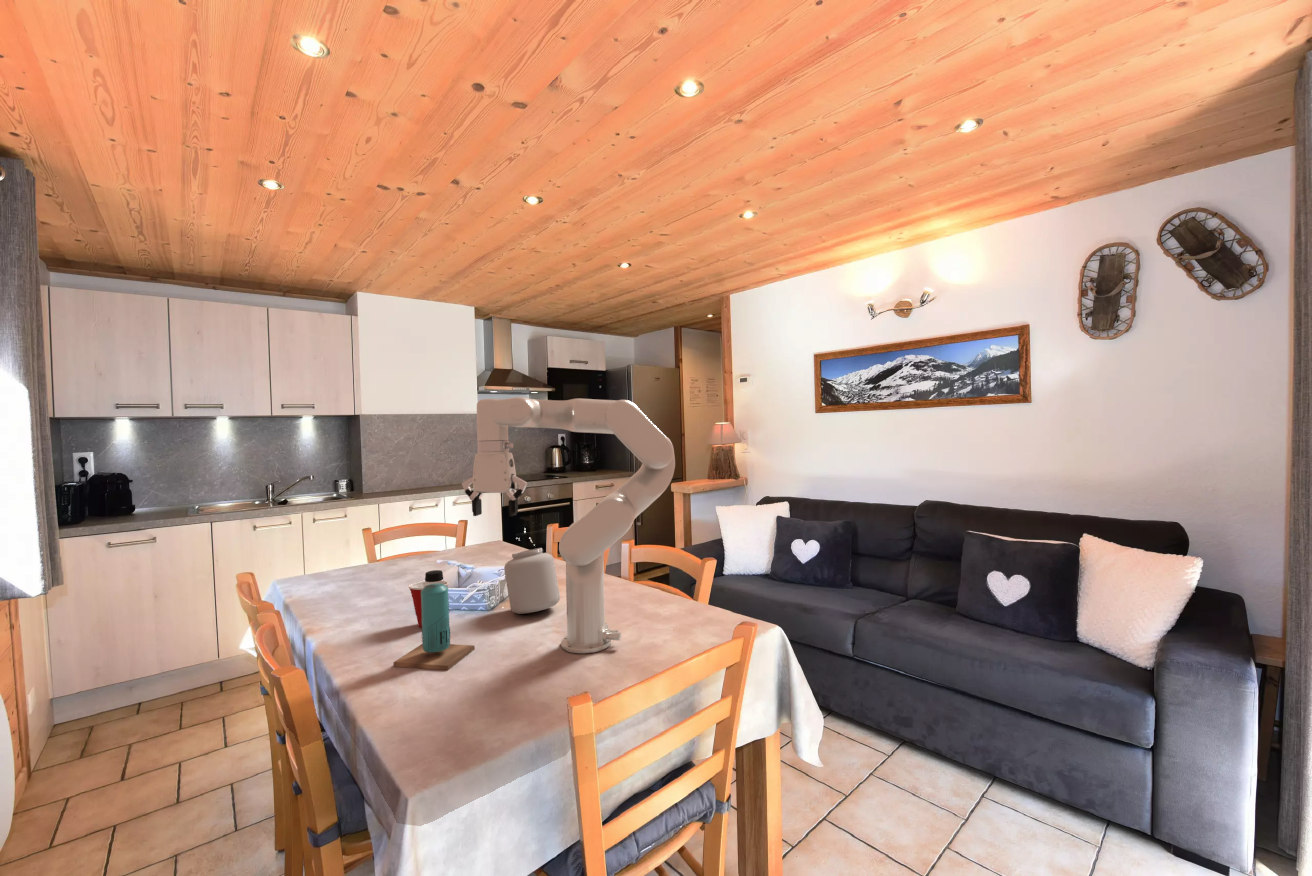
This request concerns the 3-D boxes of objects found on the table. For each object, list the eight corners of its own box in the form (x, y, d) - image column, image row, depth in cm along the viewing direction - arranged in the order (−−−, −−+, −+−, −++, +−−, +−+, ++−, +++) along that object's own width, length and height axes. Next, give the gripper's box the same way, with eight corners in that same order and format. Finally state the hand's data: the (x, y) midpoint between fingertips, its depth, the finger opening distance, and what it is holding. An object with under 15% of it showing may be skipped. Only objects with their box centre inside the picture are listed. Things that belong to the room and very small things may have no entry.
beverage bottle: (440, 659, 131) (438, 575, 131) (415, 658, 133) (413, 574, 133) (456, 649, 138) (454, 568, 138) (432, 647, 139) (430, 567, 139)
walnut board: (474, 649, 140) (474, 645, 140) (448, 670, 128) (447, 665, 128) (424, 646, 143) (423, 642, 143) (393, 666, 131) (393, 662, 131)
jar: (491, 612, 169) (488, 529, 168) (528, 599, 181) (526, 522, 180) (532, 624, 157) (530, 535, 157) (570, 609, 169) (568, 527, 169)
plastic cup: (456, 618, 164) (455, 577, 163) (439, 631, 153) (437, 588, 153) (421, 617, 165) (420, 577, 164) (401, 631, 154) (400, 587, 154)
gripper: (531, 446, 143) (533, 513, 143) (469, 447, 146) (471, 512, 147) (518, 447, 136) (520, 518, 136) (453, 448, 139) (455, 517, 139)
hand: (495, 515), depth 141 cm, fingers open, 9 cm apart
